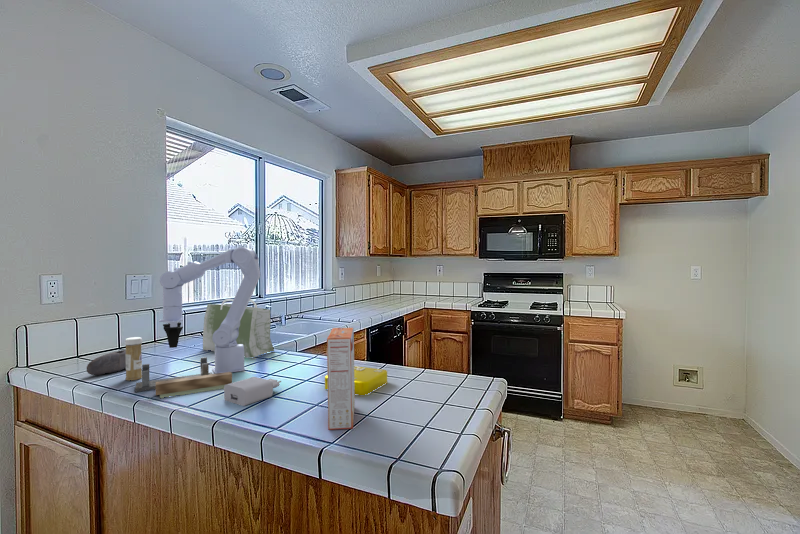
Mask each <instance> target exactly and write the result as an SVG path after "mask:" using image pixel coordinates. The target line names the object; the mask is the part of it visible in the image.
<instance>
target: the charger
mask: <svg viewBox="0 0 800 534" xmlns="http://www.w3.org/2000/svg"><path fill="white" fill-rule="evenodd" d="M280 383H282V380H279V381H278V379H273V378H269V379H265V378H261V377H257V376H252V377H248V378H244V379H241V380H238V381H234V382H232V383H230V384H227V385H225V386H224V389H223V398H224V400H225V401H226V402H229V403H232V404H236V405H239V406H241V407H245V406H248V405H251V404H254V403H257V402H260V401H263V400H265V399H268V398H271V397H273V393H274V391H273V390H274V389H276V388H277V387H278V388H279V387H280V386H281V385H280Z"/></svg>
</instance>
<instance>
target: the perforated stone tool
mask: <svg viewBox="0 0 800 534" xmlns="http://www.w3.org/2000/svg"><path fill="white" fill-rule="evenodd" d="M122 370H126V349H123V350H118V351H113V352H109V353H106V354H102V355H100V356H98V357H95V358H94V359H92V360H91V361H89V362H88V364H87V366H86V373H87V374H89V375H91V376H101V375H106V374H105V373H109V374H112V373H113V374H114V373H117V371H118V372H120V371H122Z"/></svg>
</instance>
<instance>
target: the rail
mask: <svg viewBox="0 0 800 534" xmlns="http://www.w3.org/2000/svg"><path fill="white" fill-rule="evenodd" d="M230 383H233V372H225V373H217V374H215V373H212V374H210V375H203V376H196V377H189V378H182V379H174V380H167V381H160V382H156V389H155V396H160V395H162V394H168V393H175V392H181V391H187V390H194V389H200V388H207V387H213V386H220V385H226V384H230Z"/></svg>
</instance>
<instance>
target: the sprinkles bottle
mask: <svg viewBox="0 0 800 534" xmlns="http://www.w3.org/2000/svg"><path fill="white" fill-rule="evenodd" d="M142 343H143V338H142V336H141V337H140V336H133V337H132V336H131V337H128V338H127V337H126V338H125V340H124V344H125V350H126V369H125V380H126V381H129V382H131V381H137V380H140V379H142V365H143V363H142V361H143V360H142V357H143V354H142ZM130 380H131V381H130Z"/></svg>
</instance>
